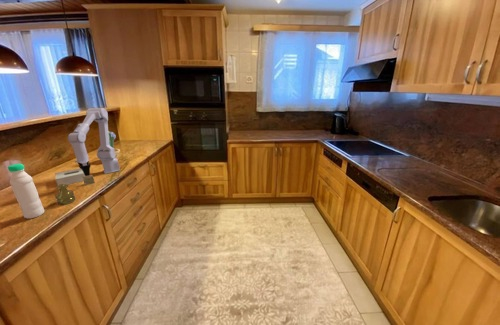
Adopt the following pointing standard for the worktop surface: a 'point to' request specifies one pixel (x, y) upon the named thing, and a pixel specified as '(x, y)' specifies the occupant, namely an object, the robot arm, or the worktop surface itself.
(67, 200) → the olive green lumpy piece
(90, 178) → the wooden block
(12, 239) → the worktop surface
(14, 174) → the white bottle
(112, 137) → the potted cactus
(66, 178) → the box
